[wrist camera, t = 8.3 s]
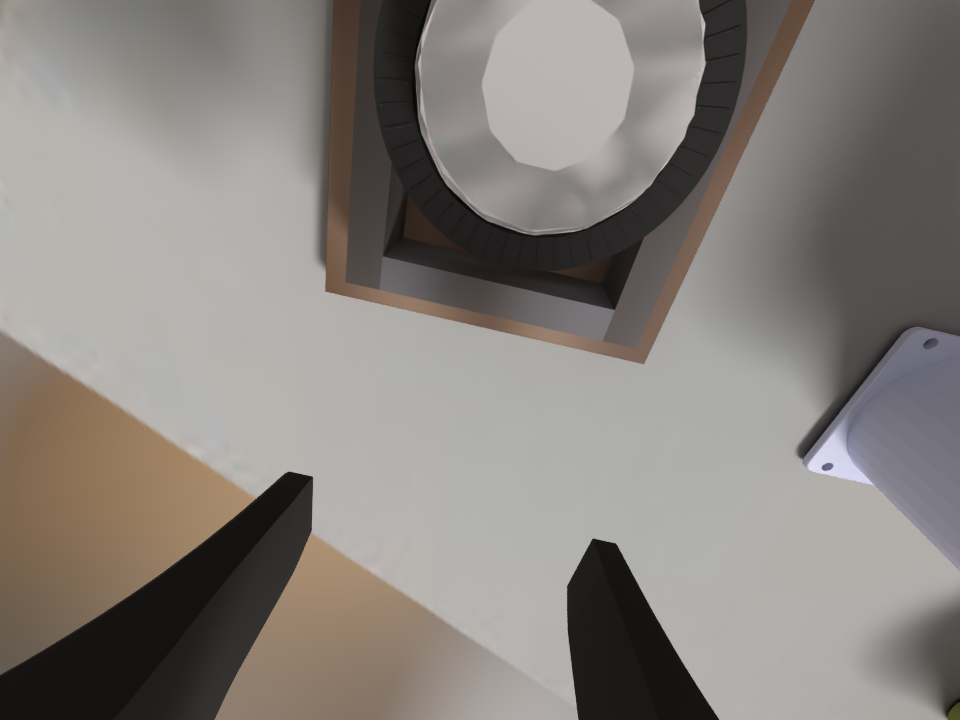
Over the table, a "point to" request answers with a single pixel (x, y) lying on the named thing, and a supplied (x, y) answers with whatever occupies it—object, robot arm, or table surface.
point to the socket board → (499, 289)
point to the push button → (554, 117)
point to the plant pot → (954, 712)
